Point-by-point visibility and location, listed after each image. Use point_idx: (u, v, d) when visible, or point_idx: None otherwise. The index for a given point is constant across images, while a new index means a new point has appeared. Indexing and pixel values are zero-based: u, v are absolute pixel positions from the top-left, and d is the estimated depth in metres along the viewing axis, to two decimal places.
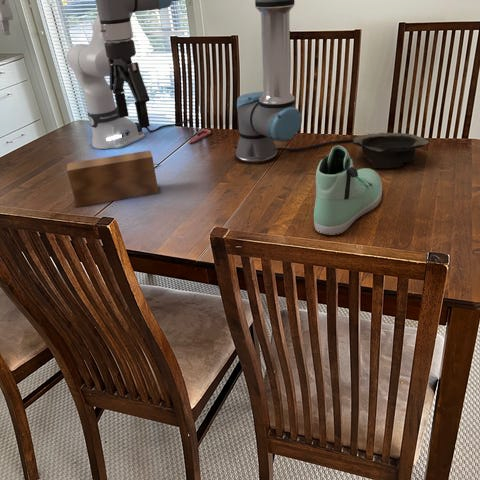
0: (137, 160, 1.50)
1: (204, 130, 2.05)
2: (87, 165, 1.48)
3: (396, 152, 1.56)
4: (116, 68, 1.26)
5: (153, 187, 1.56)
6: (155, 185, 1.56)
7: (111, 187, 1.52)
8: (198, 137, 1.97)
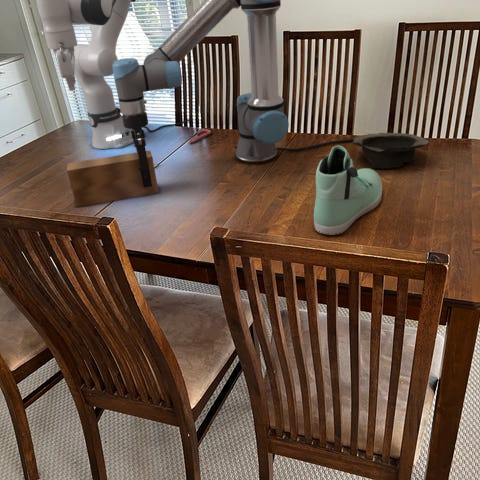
0: (137, 160, 1.50)
1: (204, 130, 2.05)
2: (87, 165, 1.48)
3: (396, 152, 1.56)
4: None
5: (153, 187, 1.56)
6: (155, 185, 1.56)
7: (111, 187, 1.52)
8: (198, 137, 1.97)
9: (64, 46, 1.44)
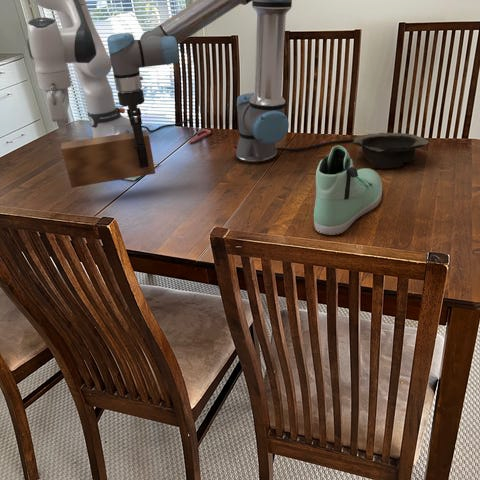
0: (133, 139, 1.46)
1: (204, 130, 2.05)
2: (82, 144, 1.44)
3: (396, 152, 1.56)
4: None
5: (150, 167, 1.52)
6: (152, 165, 1.52)
7: (106, 167, 1.49)
8: (198, 137, 1.97)
9: (56, 87, 1.34)
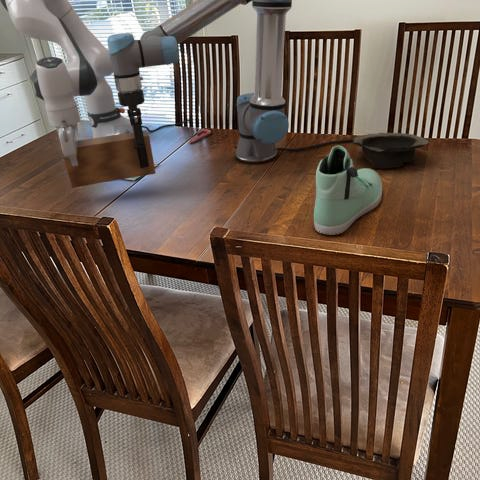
0: (133, 139, 1.47)
1: (204, 130, 2.05)
2: (82, 144, 1.44)
3: (396, 152, 1.56)
4: None
5: (150, 167, 1.52)
6: (152, 165, 1.52)
7: (107, 168, 1.49)
8: (198, 137, 1.97)
9: (67, 124, 1.38)
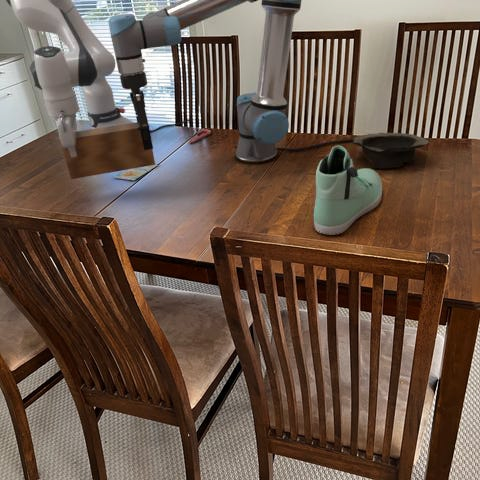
0: (132, 130, 1.45)
1: (204, 130, 2.05)
2: (80, 135, 1.43)
3: (396, 152, 1.56)
4: None
5: (149, 158, 1.51)
6: (151, 157, 1.51)
7: (106, 159, 1.47)
8: (198, 137, 1.97)
9: (65, 114, 1.37)
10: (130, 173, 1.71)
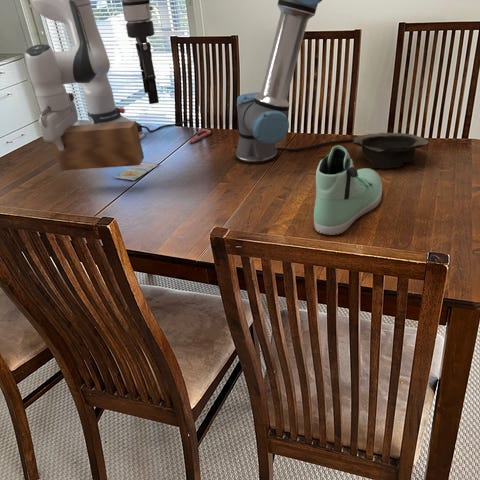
0: (116, 129, 1.47)
1: (204, 130, 2.05)
2: (69, 130, 1.49)
3: (396, 152, 1.56)
4: None
5: (134, 159, 1.52)
6: (135, 157, 1.51)
7: (92, 155, 1.52)
8: (198, 137, 1.97)
9: (51, 110, 1.44)
10: (130, 173, 1.71)
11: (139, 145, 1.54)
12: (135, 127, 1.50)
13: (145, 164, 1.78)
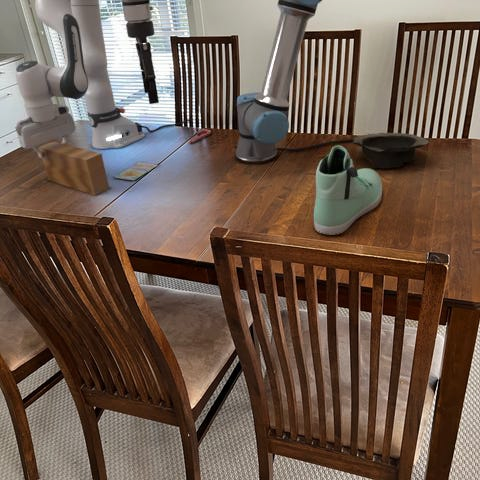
0: (77, 158, 1.55)
1: (204, 130, 2.05)
2: (52, 148, 1.64)
3: (396, 152, 1.56)
4: None
5: (91, 188, 1.58)
6: (92, 187, 1.58)
7: (65, 174, 1.64)
8: (198, 137, 1.97)
9: (32, 120, 1.58)
10: (130, 173, 1.71)
11: (101, 176, 1.59)
12: (97, 159, 1.56)
13: (145, 164, 1.78)
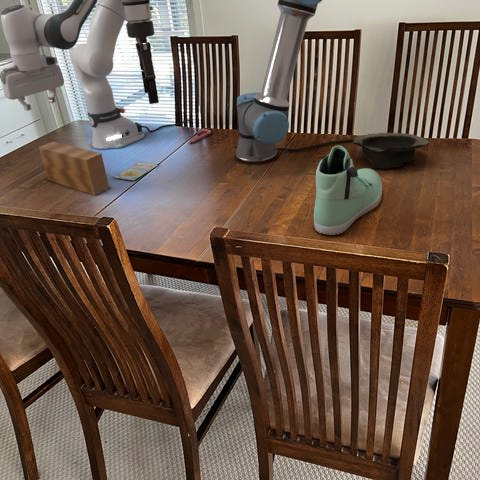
0: (77, 158, 1.55)
1: (204, 130, 2.05)
2: (52, 148, 1.64)
3: (396, 152, 1.56)
4: None
5: (91, 188, 1.58)
6: (92, 187, 1.58)
7: (65, 174, 1.64)
8: (198, 137, 1.97)
9: (18, 69, 1.49)
10: (130, 173, 1.71)
11: (101, 176, 1.59)
12: (97, 159, 1.56)
13: (145, 164, 1.78)
